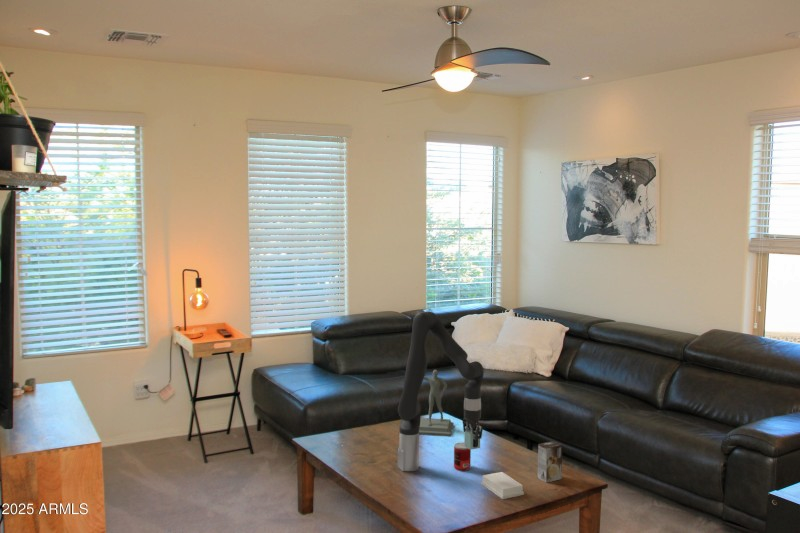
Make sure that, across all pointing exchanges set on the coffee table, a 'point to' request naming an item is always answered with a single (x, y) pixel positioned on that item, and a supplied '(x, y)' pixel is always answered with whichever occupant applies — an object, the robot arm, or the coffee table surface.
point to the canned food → (461, 457)
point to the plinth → (502, 485)
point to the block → (470, 440)
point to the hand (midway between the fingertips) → (472, 444)
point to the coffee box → (549, 461)
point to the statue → (438, 425)
